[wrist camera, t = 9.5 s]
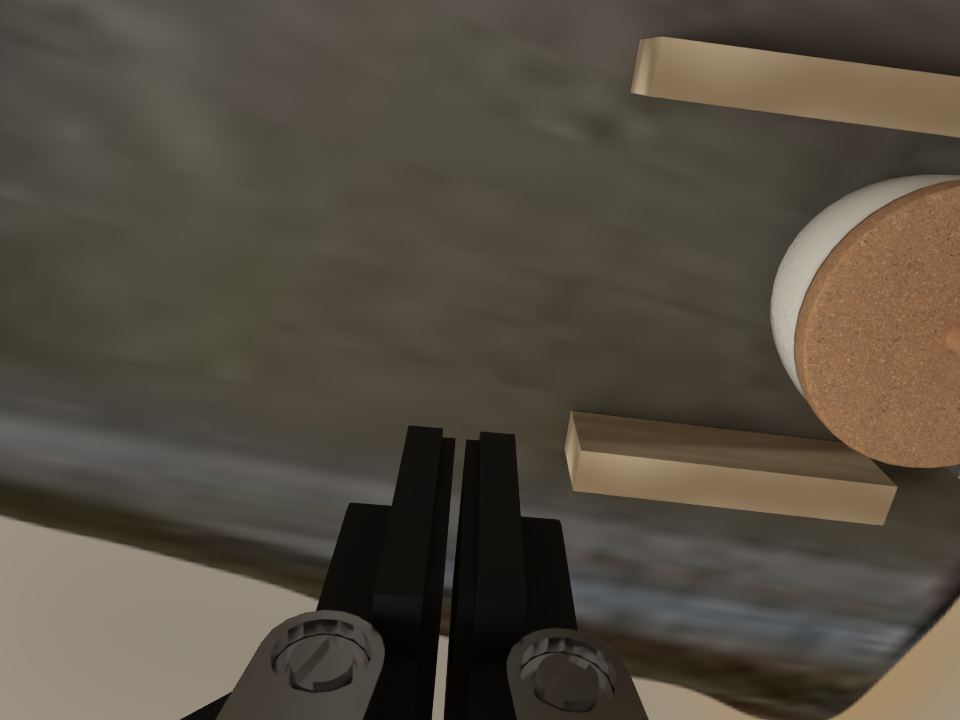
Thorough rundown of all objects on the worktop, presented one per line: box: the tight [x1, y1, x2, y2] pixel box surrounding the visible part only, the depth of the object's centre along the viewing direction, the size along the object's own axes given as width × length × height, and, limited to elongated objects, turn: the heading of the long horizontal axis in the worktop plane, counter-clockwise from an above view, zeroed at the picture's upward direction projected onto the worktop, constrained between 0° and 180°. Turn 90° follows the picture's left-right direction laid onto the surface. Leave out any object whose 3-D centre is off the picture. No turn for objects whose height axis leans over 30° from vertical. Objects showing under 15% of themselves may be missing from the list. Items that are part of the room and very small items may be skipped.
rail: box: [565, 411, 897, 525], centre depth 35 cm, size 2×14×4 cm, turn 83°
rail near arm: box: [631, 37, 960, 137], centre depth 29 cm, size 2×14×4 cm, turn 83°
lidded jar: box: [771, 175, 960, 468], centre depth 29 cm, size 11×11×9 cm
